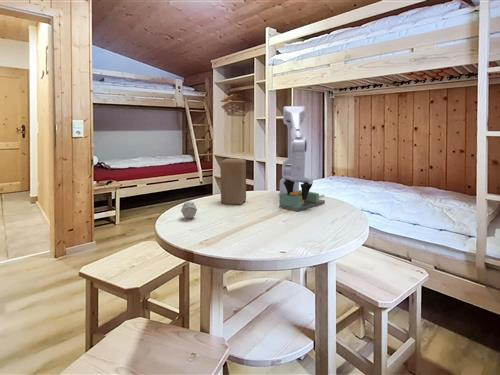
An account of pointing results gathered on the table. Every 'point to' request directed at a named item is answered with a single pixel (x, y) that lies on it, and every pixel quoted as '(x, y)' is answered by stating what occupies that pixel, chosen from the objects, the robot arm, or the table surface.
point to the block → (233, 181)
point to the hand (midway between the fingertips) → (297, 198)
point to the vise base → (304, 206)
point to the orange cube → (297, 194)
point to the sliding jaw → (313, 196)
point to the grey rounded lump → (189, 209)
